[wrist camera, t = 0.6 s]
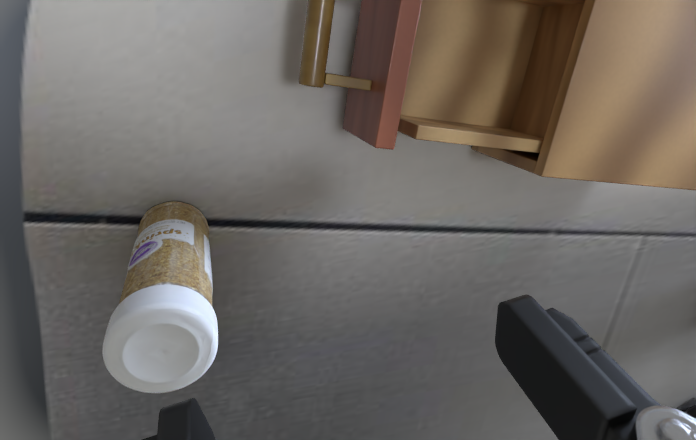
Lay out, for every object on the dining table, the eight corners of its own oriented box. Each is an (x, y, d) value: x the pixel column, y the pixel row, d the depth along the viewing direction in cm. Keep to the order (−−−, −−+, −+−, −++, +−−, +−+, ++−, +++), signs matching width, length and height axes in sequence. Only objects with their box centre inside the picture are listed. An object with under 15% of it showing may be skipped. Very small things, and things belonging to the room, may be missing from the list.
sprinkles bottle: (164, 186, 29) (144, 287, 17) (223, 223, 31) (240, 335, 19) (123, 240, 30) (75, 374, 18) (184, 272, 32) (178, 412, 20)
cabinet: (471, 149, 35) (541, 176, 28) (514, -28, 31) (610, -49, 24) (608, 164, 40) (697, 190, 33) (661, 12, 36) (776, 5, 29)
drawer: (281, 121, 29) (301, 140, 24) (302, -80, 25) (332, -114, 20) (504, 146, 35) (562, 166, 29) (547, -13, 31) (623, -25, 26)
